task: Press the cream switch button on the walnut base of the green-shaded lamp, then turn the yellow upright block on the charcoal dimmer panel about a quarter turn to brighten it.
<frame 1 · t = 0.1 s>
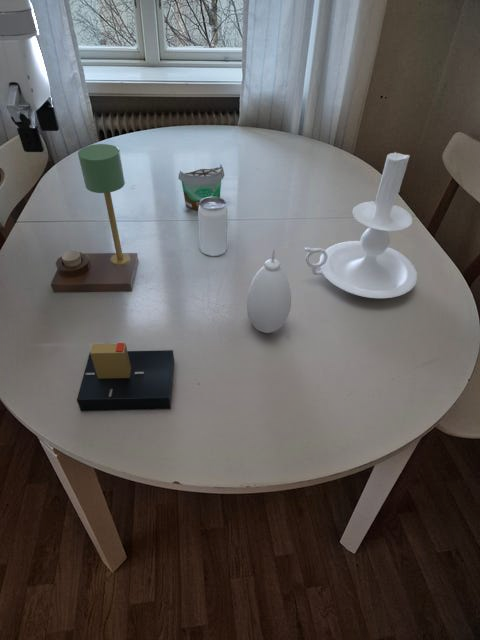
hand: (42, 140, 76), 28 cm above the table, tool pointing down, fingers open, 9 cm apart
yellow upright block: (111, 360, 67), point 6 cm above the table, hinge at 0.0°
candlestick: (355, 279, 94), on the table
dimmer: (130, 385, 71), on the table
lamp: (120, 260, 90), resting on lamp base
lamp base: (98, 276, 93), on the table
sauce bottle: (266, 329, 82), on the table
food container: (206, 208, 116), on the table
lamp button: (71, 259, 89), point 4 cm above the table, slide at 0.1 cm
can: (213, 250, 101), on the table
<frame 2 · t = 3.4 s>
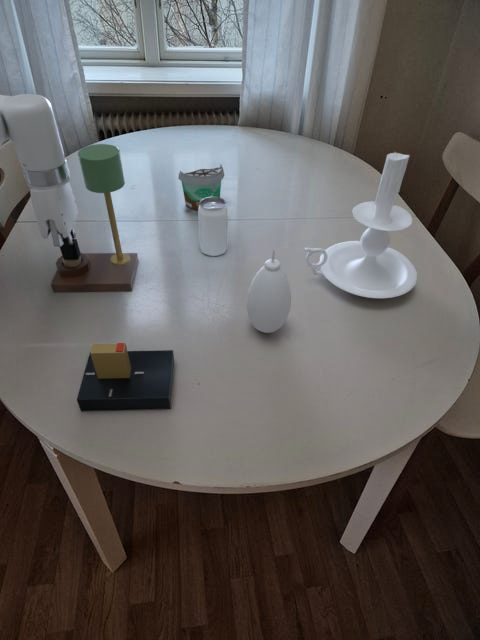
hand: (72, 257, 89), 5 cm above the table, tool pointing down, fingers closed
lamp button: (72, 261, 90), point 4 cm above the table, slide at -0.4 cm, touching gripper
everything else where it was.
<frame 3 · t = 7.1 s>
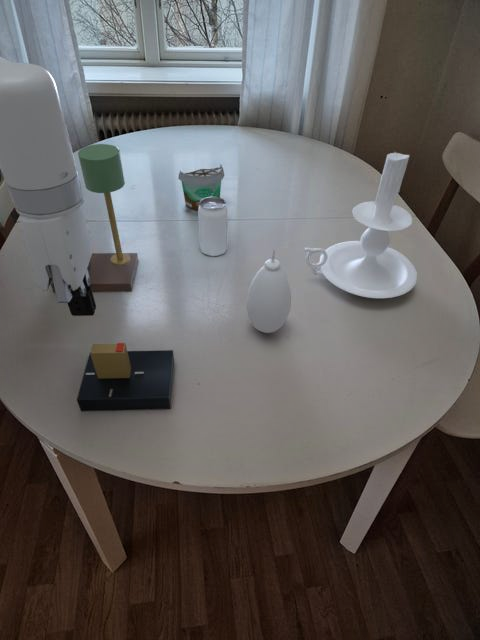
hand: (84, 311, 61), 16 cm above the table, tool pointing down, fingers closed
lamp button: (71, 259, 89), point 4 cm above the table, slide at 0.1 cm
everything else where it was.
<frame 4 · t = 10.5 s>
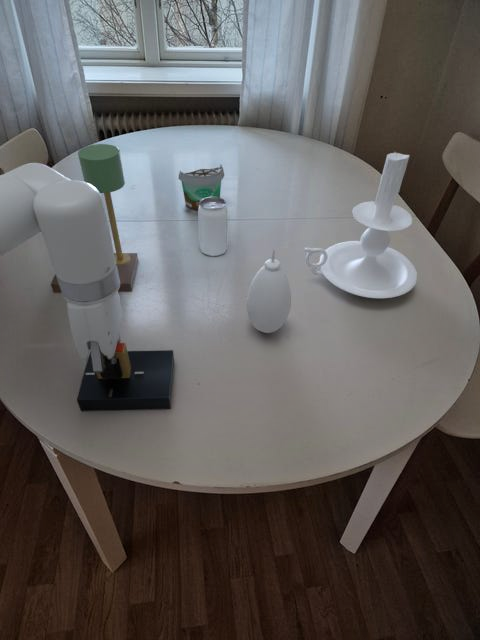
hand: (113, 369, 69), 4 cm above the table, tool pointing down, fingers closed on yellow upright block, 2 cm apart
yellow upright block: (111, 360, 67), point 6 cm above the table, hinge at 0.0°, touching gripper
everything else where it was.
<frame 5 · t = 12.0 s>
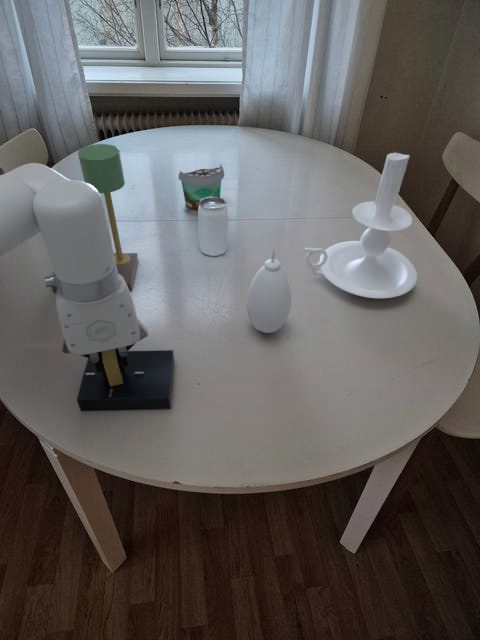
hand: (113, 369, 68), 4 cm above the table, tool pointing down, fingers closed on yellow upright block, 2 cm apart
yellow upright block: (111, 360, 67), point 6 cm above the table, hinge at 104.9°, touching gripper
everything else where it was.
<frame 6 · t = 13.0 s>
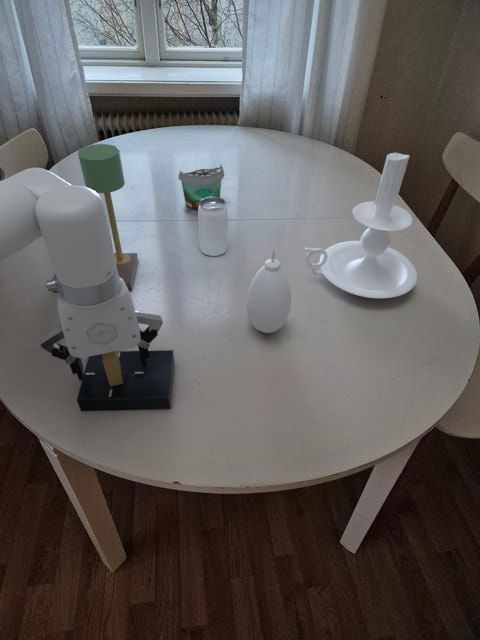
hand: (112, 366, 68), 5 cm above the table, tool pointing down, fingers open, 9 cm apart
yellow upright block: (111, 360, 67), point 6 cm above the table, hinge at 104.8°
everything else where it was.
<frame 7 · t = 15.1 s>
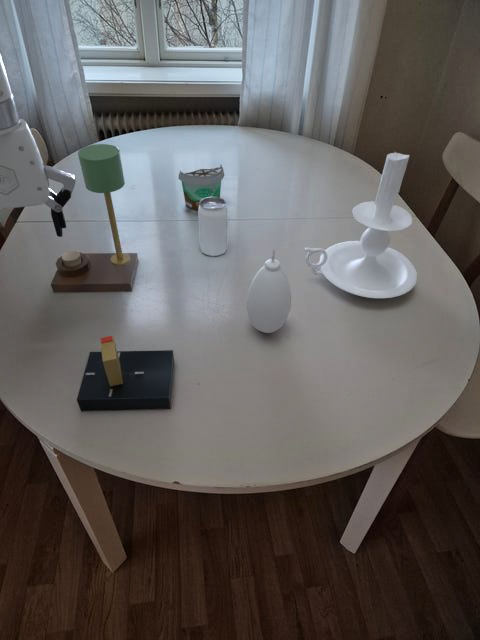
hand: (25, 236, 63), 22 cm above the table, tool pointing down, fingers open, 9 cm apart
nothing on the table moved.
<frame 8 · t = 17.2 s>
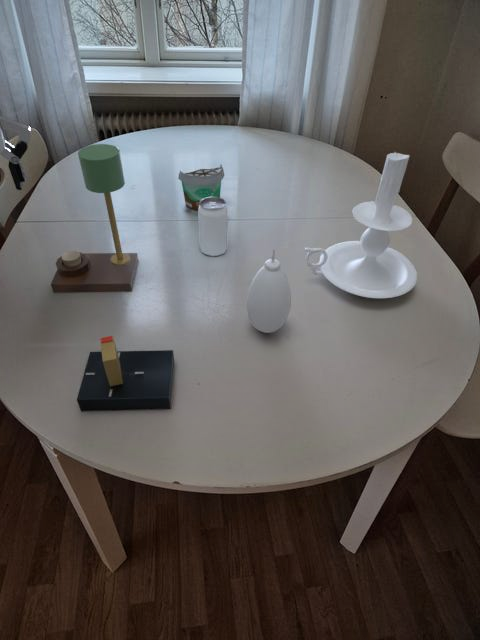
nothing on the table moved.
at the end: lamp button pushed in 1.1 cm at the most during the clip, back to where it started at the end; lamp button slide at 0.1 cm; yellow upright block at +105° (first picture: +0°) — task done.
